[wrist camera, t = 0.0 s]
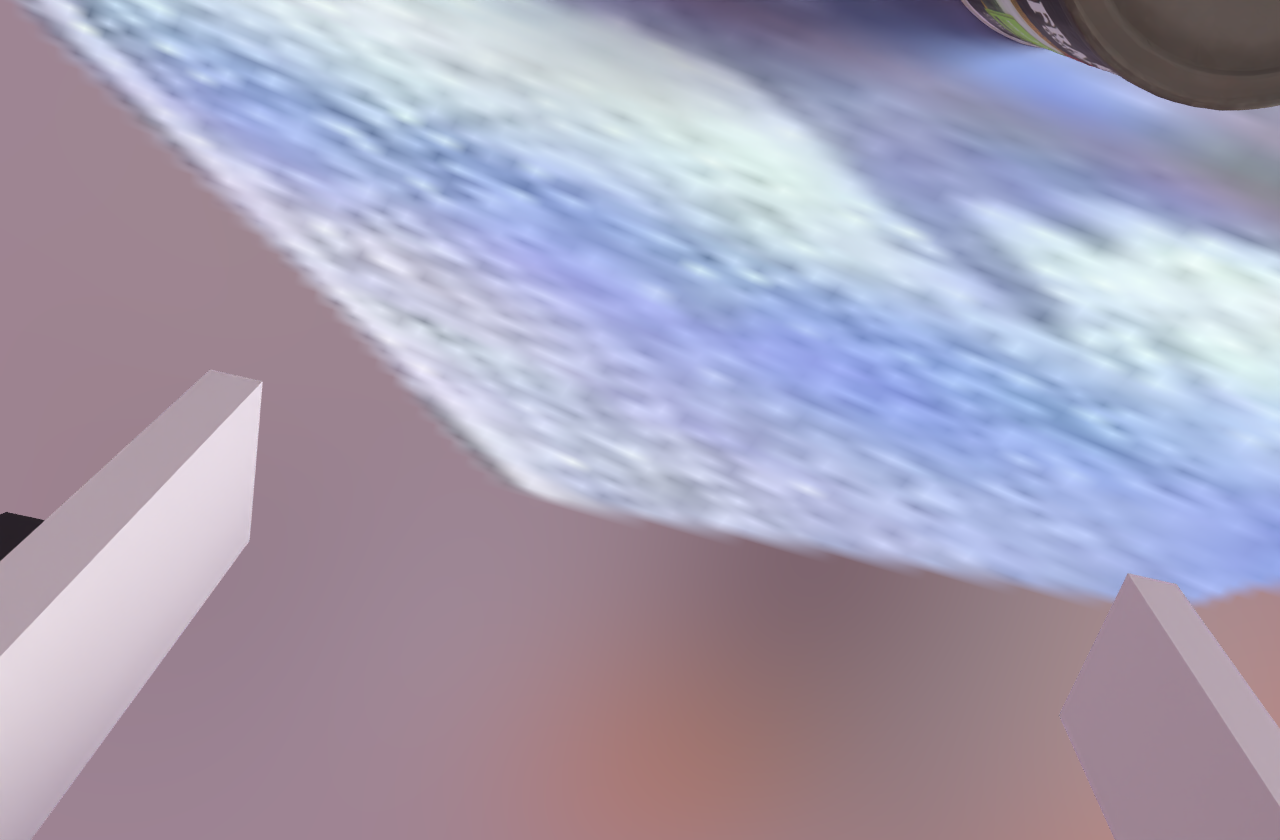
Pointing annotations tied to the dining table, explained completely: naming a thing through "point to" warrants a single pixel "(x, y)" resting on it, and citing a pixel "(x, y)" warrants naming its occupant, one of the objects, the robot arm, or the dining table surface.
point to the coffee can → (1158, 43)
